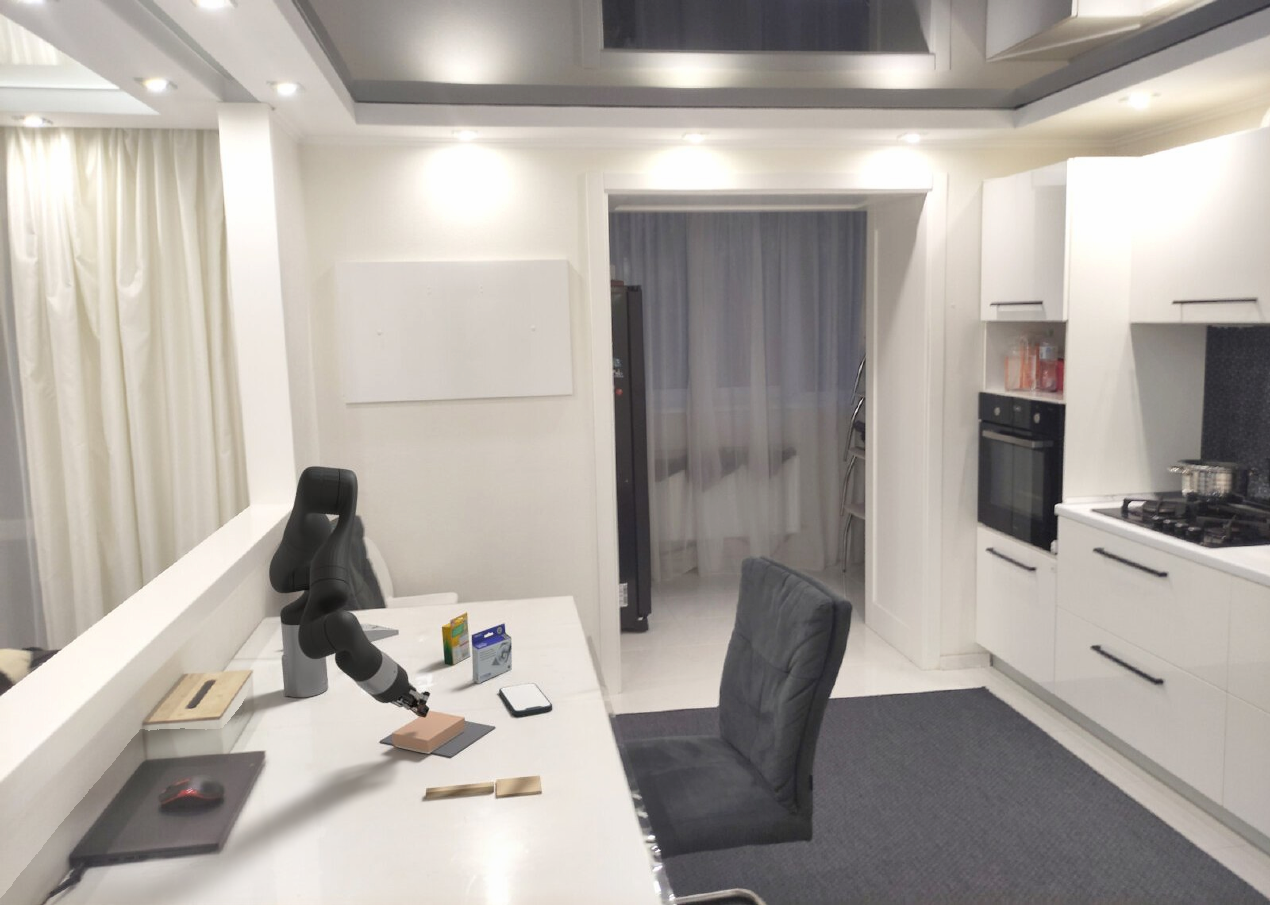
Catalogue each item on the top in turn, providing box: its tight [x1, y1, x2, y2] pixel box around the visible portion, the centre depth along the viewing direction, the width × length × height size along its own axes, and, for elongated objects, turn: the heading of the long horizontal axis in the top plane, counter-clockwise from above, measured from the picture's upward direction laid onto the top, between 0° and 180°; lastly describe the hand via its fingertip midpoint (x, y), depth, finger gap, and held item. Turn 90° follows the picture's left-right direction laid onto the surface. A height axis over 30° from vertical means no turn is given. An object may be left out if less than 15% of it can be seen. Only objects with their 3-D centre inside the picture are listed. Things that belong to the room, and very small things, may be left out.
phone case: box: [498, 682, 553, 718], centre depth 216 cm, size 9×2×16 cm
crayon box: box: [441, 612, 471, 666], centre depth 243 cm, size 7×3×12 cm, turn 154°
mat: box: [379, 720, 496, 758], centre depth 199 cm, size 18×15×1 cm
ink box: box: [471, 622, 513, 684], centre depth 231 cm, size 12×2×12 cm, turn 143°
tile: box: [391, 710, 466, 755], centre depth 197 cm, size 9×3×12 cm
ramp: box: [360, 623, 400, 643], centre depth 261 cm, size 28×16×5 cm, turn 112°
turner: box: [425, 775, 543, 800], centre depth 175 cm, size 20×6×1 cm, turn 98°
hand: (424, 712), depth 195 cm, fingers closed
